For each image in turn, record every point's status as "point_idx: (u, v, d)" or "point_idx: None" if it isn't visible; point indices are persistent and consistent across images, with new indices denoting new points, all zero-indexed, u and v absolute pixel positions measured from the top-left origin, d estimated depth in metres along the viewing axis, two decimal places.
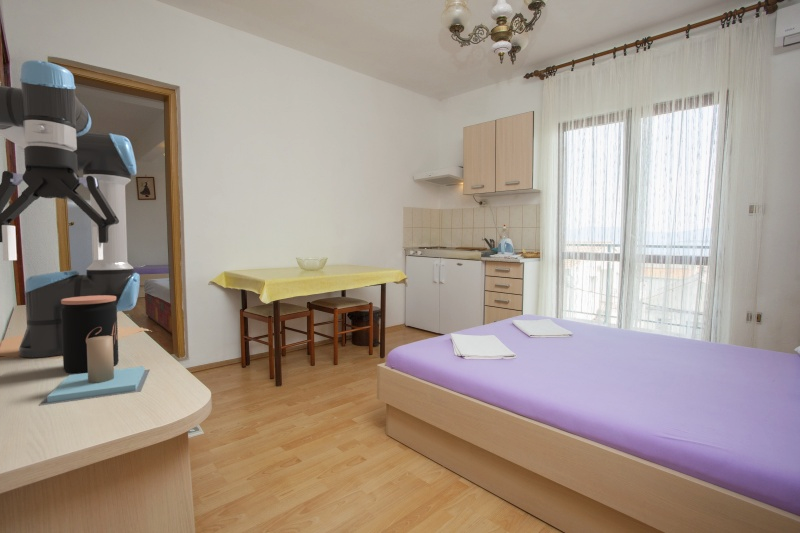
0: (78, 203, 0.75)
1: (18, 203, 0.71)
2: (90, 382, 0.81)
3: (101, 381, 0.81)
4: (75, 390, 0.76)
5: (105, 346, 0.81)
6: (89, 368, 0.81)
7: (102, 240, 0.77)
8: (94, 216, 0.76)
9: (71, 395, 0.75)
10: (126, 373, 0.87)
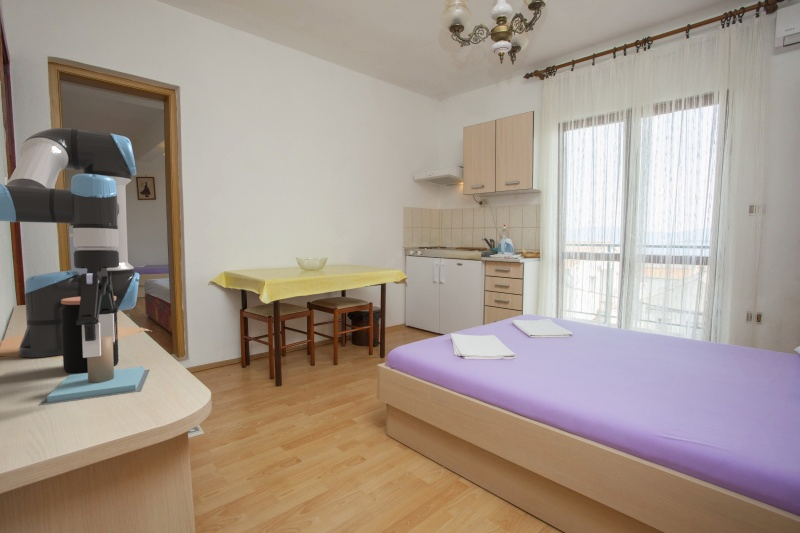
0: None
1: None
2: (90, 382, 0.81)
3: (101, 381, 0.81)
4: (75, 390, 0.76)
5: (105, 346, 0.81)
6: (89, 368, 0.81)
7: None
8: None
9: (71, 395, 0.75)
10: (126, 373, 0.87)
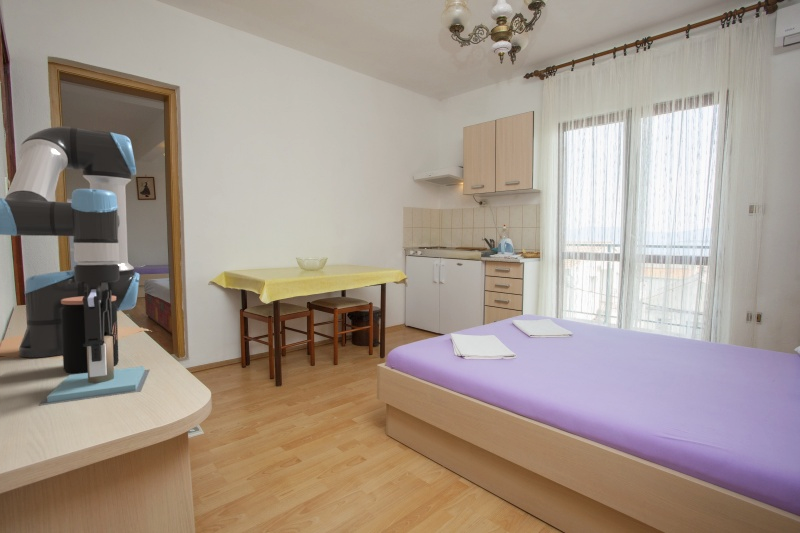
0: None
1: None
2: (90, 382, 0.81)
3: (101, 381, 0.81)
4: (75, 390, 0.76)
5: None
6: None
7: None
8: None
9: (71, 395, 0.75)
10: (126, 373, 0.87)
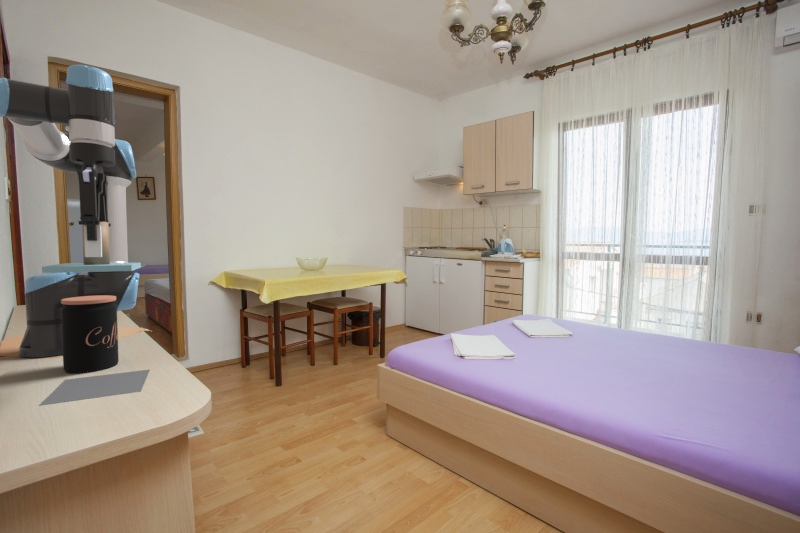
0: None
1: None
2: (85, 264, 0.80)
3: (97, 263, 0.80)
4: None
5: None
6: (84, 249, 0.80)
7: None
8: None
9: (66, 268, 0.74)
10: (122, 263, 0.86)
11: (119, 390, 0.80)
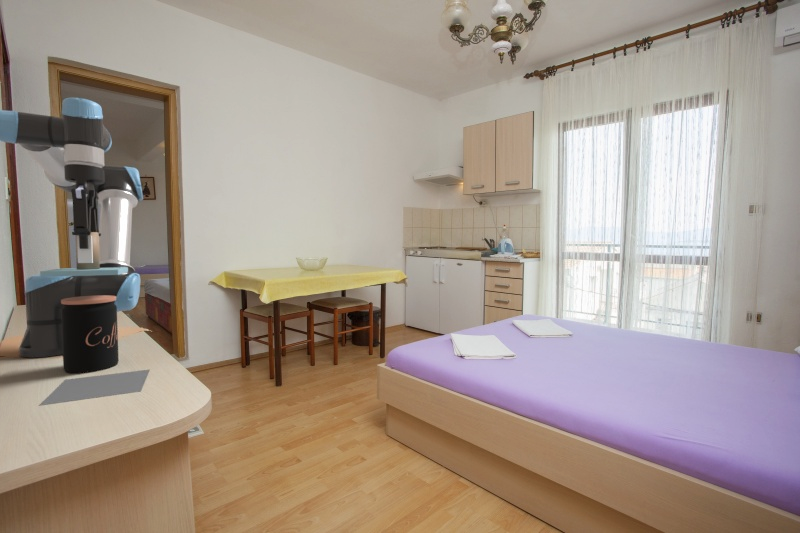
0: None
1: None
2: (78, 268, 0.92)
3: (88, 268, 0.93)
4: (64, 270, 0.88)
5: None
6: (77, 256, 0.92)
7: None
8: None
9: (61, 272, 0.87)
10: None
11: (119, 390, 0.80)
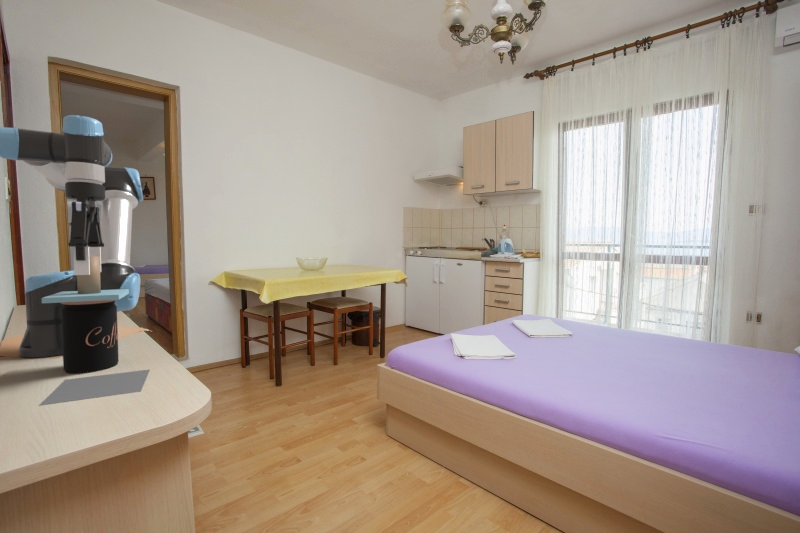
0: None
1: None
2: (79, 293, 0.93)
3: (89, 293, 0.93)
4: (65, 296, 0.88)
5: (92, 262, 0.93)
6: (78, 281, 0.93)
7: None
8: None
9: (62, 299, 0.87)
10: (112, 291, 0.99)
11: (119, 390, 0.80)
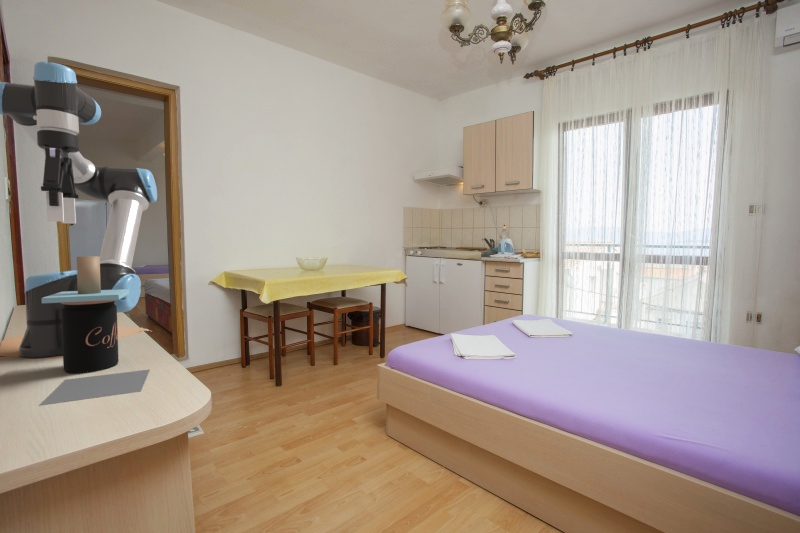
0: None
1: None
2: (79, 293, 0.93)
3: (89, 293, 0.93)
4: (65, 296, 0.88)
5: (92, 262, 0.93)
6: (78, 281, 0.93)
7: None
8: None
9: (62, 299, 0.87)
10: (112, 291, 0.99)
11: (119, 390, 0.80)
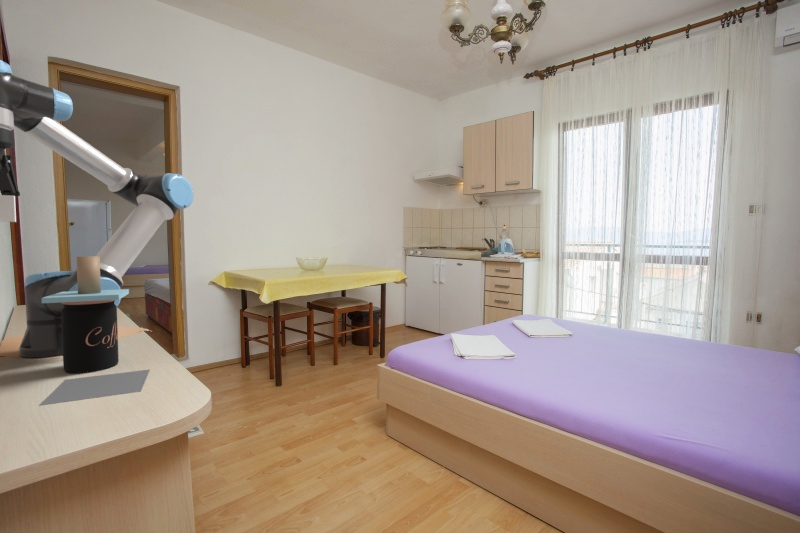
0: None
1: None
2: (79, 293, 0.93)
3: (89, 293, 0.93)
4: (65, 296, 0.88)
5: (92, 262, 0.93)
6: (78, 281, 0.93)
7: None
8: None
9: (62, 299, 0.87)
10: (112, 291, 0.99)
11: (119, 390, 0.80)
